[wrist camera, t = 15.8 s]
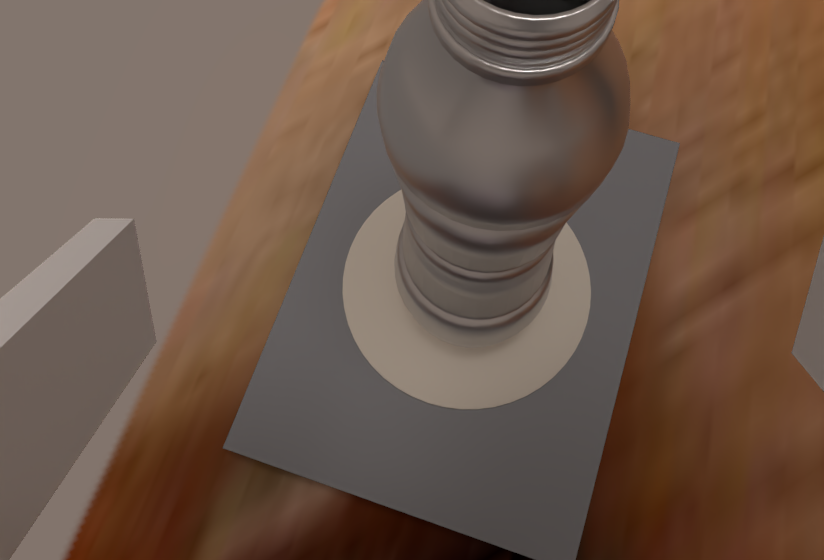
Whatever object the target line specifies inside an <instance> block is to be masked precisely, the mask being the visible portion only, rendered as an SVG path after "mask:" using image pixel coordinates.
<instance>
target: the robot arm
mask: <svg viewBox="0 0 824 560" xmlns="http://www.w3.org/2000/svg"><path fill="white" fill-rule="evenodd" d="M155 343H156V337H155V332H154V326H153V321H152V315H151V310H150V305H149V299H148V293H147V288H146V282H145V277H144V271H143V266H142V260H141V255H140V250H139V244H138V238H137V233H136V227H135V222H134V219H116V218H112V219H111V218H94V219H93V220H92V221H91V222H90V223H89V224H87V225H86V226H85V227H84V228H83V229H82V230H80V231H79V232H78V233H77V234H76V235H75V236H74V237H72V238H71V239H70V240H69V241H67V242H66V243H65V244H64V245H63V246H62V247H60V248H59V249H58V250H57V251H56V252H55V253H53V254H52V255H51V256H50V257H49V258H48V259H46V260H45V261H44V262H43V263H42V264H40V265H39V266H38V267H37V268H36V269H35V270H33V271H32V272H31V273H30V274H29V275H28V276H27V277H25V278H24V279H23V280H22V281H21V282H19V283H18V284H17V285H16V286H15V287H14V288H13V289H11V290H10V291H9V292H8V293H7V294H5V295H4V296H3V297H2V298H1V299H0V560H9V559H10V558H11V556H12V555H13V553H14V552H15V550H16V549H17V547H18V546H19V544H20V543H21V541H22V540H23V539H24V537H25V536H26V534H27V533H28V531H29V530H30V528H31V527H32V525H33V524H34V522H35V521H36V519H37V517H38V516H39V515H40V513H41V512H42V510H43V509H44V507H45V506H46V504H47V503H48V501H49V500H50V499H51V497H52V496H53V494H54V493H55V491H56V490H57V488H58V486H59V485H60V484H61V482H62V481H63V479H64V478H65V476H66V475H67V473H68V472H69V470H70V469H71V467H72V466H73V464H74V463H75V461H76V460H77V458H78V457H79V456H80V454H81V453H82V451H83V449H84V448H85V447H86V445H87V444H88V442H89V441H90V439H91V438H92V436H93V435H94V433H95V432H96V430H97V429H98V427H99V426H100V424H101V423H102V421H103V420H104V418H105V417H106V416H107V414H108V413H109V411H110V409H111V408H112V407H113V405H114V404H115V402H116V401H117V399H118V398H119V396H120V395H121V393H122V392H123V390H124V389H125V387H126V386H127V384H128V383H129V381H130V380H131V378H132V377H133V376H134V374H135V373H136V371H137V370H138V368H139V367H140V365H141V364H142V362H143V361H144V359H145V358H146V356H147V355H148V353H149V352H150V350H151V349H152V347H153V346H154V344H155ZM792 354H793V355H794V356H795V358H796V359H797V360H798V361H799V362H800V364H801V365H802V366H803V367H804V368H805V370H806V371H807V372H808V373H809V374H810V376H811V377H812V378H813V379H814V380H815V382H816V383H817V384H818V385H819V387H820V388H821V389H822V390H823V391H824V237H823V241H822V244H821V248H820V252H819V255H818V259H817V263H816V266H815V270H814V273H813V277H812V281H811V284H810V288H809V292H808V295H807V299H806V302H805V306H804V310H803V313H802V317H801V321H800V324H799V328H798V331H797V335H796V339H795V342H794V346H793V350H792Z"/></svg>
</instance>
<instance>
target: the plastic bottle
mask: <svg viewBox="0 0 824 560" xmlns="http://www.w3.org/2000/svg"><path fill="white" fill-rule="evenodd" d="M618 9H619V0H422V1H421V2H420V3H419V4H418V5H417V6H416V7H415V8H414V9H413V10H412V11H411V12H410V13H409V14H408V15H407V16H406V18H405V19H404V21H403V22H402V24H401V25H400V27H399V28H398V29H397V31H396V33H395V35H394V38H393V40H392V42H391V45H390V47H389V50H388V52H387V55H386V57H385V60H384V63H383V65H382V68H381V71H380V76H379V81H378V87H377V92H376V93H377V115H378V119H379V123H380V128H381V132H382V136H383V140H384V144H385V148H386V152H387V155H388V157H389V159H390V162H391V164H392V167H393V169H394V172H395V174H396V177H397V179H398V182H399V184H400V187H401V189H402V194H403V199H404V204H405V210H406V213H405V221H404V223H403V226H402V229H401V231H400V234H399V238H398V242H397V246H396V253H395V259H394V269H395V279H396V283H397V287H398V291H399V293H400V295H401V298H402V300H403V302H404V304H405V306H406V307H407V309H408V310H409V311H410V313H411V314H412V315H413V317H414V318H415V319H416V321H417V322H418V323H419V324H420V325H421V326H422V327H423V328H424V329H425V330H426V331H428V332H429V333H430V334H432V335H433V336H435V337H437V338H438V339H440V340H441V341H444V342H447V343H449V344H452V345H455V346H461V347H467V348H477V347H487V346H491V345H495V344H498V343H500V342H502V341H504V340H506V339H509V338H511V337H512V336H514V335H516V334H518V333H519V332H520V331H521V330H523V329H524V328H525V327H527V326H528V325H529V324H530V323H531V322H532V321H533V319H534V318H535V317H536V316H537V315H538V314H539V312H540V310H541V309H542V307H543V305H544V303H545V301H546V299H547V296H548V293H549V289H550V286H551V280H552V272H553V260H554V256H553V249H554V245H555V241H556V238H557V237H558V235H559V234H560V232H561V230H562V229H563V227H564V225H565V224H566V222H567V221H568V220H569V219H570V218H571V217H572V216H573V214H574V213H575V212H576V211H577V210H578V209H579V208H580V207H581V206H582V205H583V204H584V202H585V201H587V200H588V199H589V197H590V196H591V195H592V194H593V193H594V192H595V191H596V189H597V188H598V187H599V186H600V185H601V184H602V182H603V181H604V179H605V178H606V176H607V175H608V173H609V172H610V170H611V169H612V167H613V165H614V164H615V162H616V160H617V158H618V156H619V154H620V153H621V151H622V149H623V146H624V143H625V139H626V136H627V132H628V128H629V120H630V80H629V74H628V68H627V62H626V59H625V56H624V54H623V51H622V49H621V46H620V44H619V41H618V39H617V38H616V36H615V34H614V33H613V31H612V28H613V25H614V22H615V19H616V16H617V12H618Z"/></svg>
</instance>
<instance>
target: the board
mask: <svg viewBox="0 0 824 560" xmlns="http://www.w3.org/2000/svg"><path fill="white" fill-rule="evenodd" d="M383 63H384V61H383V60H382V62H381V65H380V67H379V70H378V72H377V74H376V77H375V79H374V82H373V84H372V87H371V89H370V91H369V94H368V96H367V99H366V101H365V104H364V106H363V108H362V111H361V113H360V116H359V118H358V121H357V123H356V125H355V128H354V130H353V133H352V135H351V138H350V140H349V142H348V145H347V147H346V150H345V152H344V155H343V157H342V159H341V162H340V164H339V167H338V169H337V172H336V174H335V176H334V179H333V181H332V184H331V186H330V189H329V191H328V193H327V196H326V198H325V201H324V203H323V206H322V208H321V211H320V213H319V215H318V218H317V220H316V223H315V225H314V228H313V230H312V232H311V235H310V237H309V240H308V242H307V245H306V247H305V249H304V252H303V254H302V257H301V259H300V262H299V264H298V266H297V269H296V271H295V274H294V276H293V279H292V281H291V283H290V286H289V288H288V291H287V293H286V296H285V298H284V300H283V303H282V305H281V308H280V310H279V313H278V315H277V317H276V320H275V322H274V325H273V327H272V330H271V332H270V334H269V337H268V339H267V342H266V344H265V347H264V349H263V351H262V354H261V356H260V359H259V361H258V364H257V366H256V368H255V371H254V373H253V376H252V378H251V381H250V383H249V385H248V388H247V390H246V393H245V395H244V398H243V400H242V402H241V405H240V407H239V410H238V412H237V415H236V417H235V419H234V422H233V424H232V427H231V429H230V432H229V434H228V436H227V439H226V441H225V444H224V446H223V448H224V449H227V450H230V451H232V452H235V453H238V454H241V455H244V456H246V457H249V458H252V459H255V460H258V461H260V462H263V463H266V464H269V465H272V466H274V467H277V468H280V469H283V470H286V471H288V472H291V473H294V474H297V475H300V476H302V477H305V478H308V479H311V480H314V481H316V482H319V483H322V484H325V485H328V486H330V487H333V488H336V489H339V490H342V491H344V492H347V493H350V494H353V495H356V496H358V497H361V498H364V499H367V500H370V501H372V502H375V503H378V504H381V505H384V506H386V507H389V508H392V509H395V510H398V511H400V512H403V513H406V514H409V515H412V516H414V517H417V518H420V519H423V520H426V521H428V522H431V523H434V524H437V525H440V526H442V527H445V528H448V529H451V530H454V531H456V532H459V533H462V534H465V535H468V536H471V537H473V538H476V539H479V540H482V541H485V542H487V543H490V544H493V545H496V546H499V547H501V548H504V549H507V550H510V551H513V552H515V553H518V554H521V555H524V556H527V557H529V558H532V559H535V560H576V556H577V552H578V548H579V544H580V540H581V536H582V532H583V528H584V524H585V520H586V516H587V512H588V508H589V504H590V500H591V496H592V492H593V488H594V484H595V480H596V476H597V472H598V468H599V464H600V460H601V456H602V452H603V448H604V444H605V440H606V436H607V432H608V428H609V424H610V420H611V416H612V412H613V408H614V404H615V400H616V396H617V392H618V388H619V384H620V380H621V376H622V372H623V368H624V364H625V360H626V356H627V352H628V348H629V344H630V340H631V336H632V332H633V328H634V324H635V320H636V316H637V312H638V308H639V304H640V300H641V296H642V292H643V288H644V284H645V280H646V276H647V272H648V268H649V264H650V260H651V256H652V252H653V248H654V244H655V240H656V236H657V232H658V228H659V224H660V220H661V216H662V212H663V208H664V204H665V200H666V196H667V192H668V188H669V184H670V180H671V176H672V172H673V168H674V164H675V160H676V156H677V152H678V148H679V144H680V143H677V142H673V141H670V140H666V139H663V138H659V137H655V136H652V135H648V134H645V133H641V132H638V131H634V130H630V129H628V132H627V136H626V139H625V143H624V146H623V149H622V151H621V153H620V154H619V156H618V158H617V160H616V162H615V164H614V165H613V167H612V169H611V170H610V172H609V173H608V175H607V176H606V178H605V179H604V181H603V182H602V184H601V185H600V186H599V187H598V188H597V189H596V191H595V192H594V193H593V194H592V195H591V196H590V197H589V199H588V200H587V201H585V202H584V204H583V205H582V206H581V207H580V208H579V209H578V210H577V211H576V212H575V213H574V214H573V216H572V217H571V218H570V219H569V220H568V221H567V222H566V224H565V225H564V227H563V229H562V230H561V232H560V234H559V235H558V237H557V238H556V241H555V245H554V249H553V256H554V260H553V272H552V280H551V286H550V289H549V293H548V296H547V299H546V301H545V303H544V305H543V307H542V309H541V310H540V312H539V314H538V315H537V316H536V317H535V318H534V319H533V321H532V322H531V323H530V324H529V325H528V326H527V327H525V328H524V329H523V330H521V331H520V332H519V333H518V334H516V335H514V336H512V337H511V338H509V339H506V340H504V341H502V342H500V343H498V344H495V345H491V346H487V347H477V348H467V347H461V346H455V345H452V344H449V343H447V342H444V341H441V340H440V339H438V338H437V337H435V336H433V335H432V334H430V333H429V332H428V331H426V330H425V329H424V328H423V327H422V326H421V325H420V324H419V323H418V322H417V321H416V319H415V318H414V317H413V315H412V314H411V313H410V311H409V310H408V309H407V307H406V306H405V304H404V302H403V300H402V298H401V295H400V293H399V291H398V287H397V283H396V279H395V269H394V259H395V253H396V246H397V242H398V238H399V234H400V231H401V229H402V226H403V223H404V221H405V213H406V210H405V204H404V199H403V194H402V189H401V187H400V184H399V182H398V179H397V177H396V174H395V172H394V169H393V167H392V164H391V162H390V159H389V157H388V155H387V152H386V148H385V144H384V140H383V136H382V132H381V128H380V123H379V119H378V115H377V93H376V92H377V87H378V81H379V76H380V71H381V68H382V65H383Z"/></svg>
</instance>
